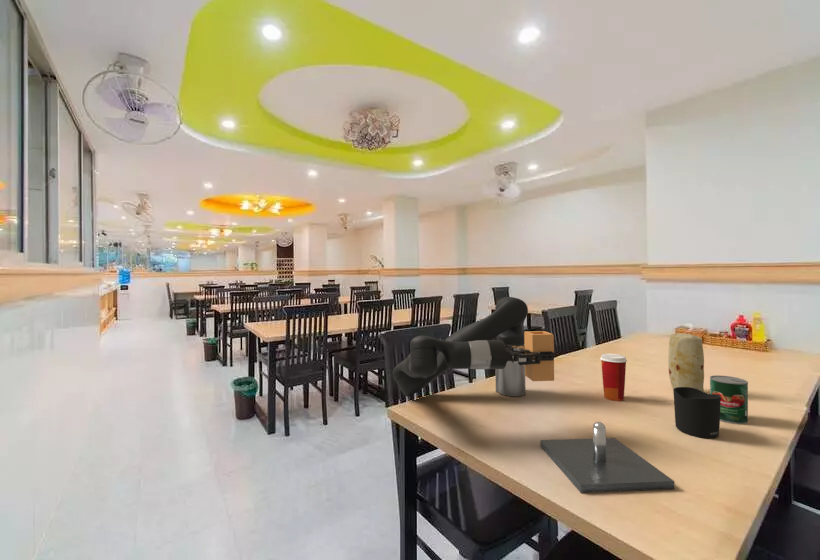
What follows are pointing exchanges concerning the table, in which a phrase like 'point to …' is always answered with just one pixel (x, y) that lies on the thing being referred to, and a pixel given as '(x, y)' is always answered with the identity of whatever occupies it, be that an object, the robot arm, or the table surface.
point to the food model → (686, 361)
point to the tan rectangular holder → (539, 343)
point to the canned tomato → (731, 398)
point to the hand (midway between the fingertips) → (548, 353)
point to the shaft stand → (604, 464)
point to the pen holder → (697, 412)
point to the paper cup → (613, 376)
